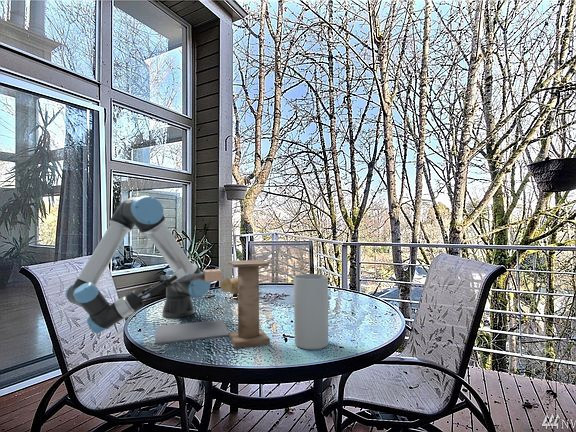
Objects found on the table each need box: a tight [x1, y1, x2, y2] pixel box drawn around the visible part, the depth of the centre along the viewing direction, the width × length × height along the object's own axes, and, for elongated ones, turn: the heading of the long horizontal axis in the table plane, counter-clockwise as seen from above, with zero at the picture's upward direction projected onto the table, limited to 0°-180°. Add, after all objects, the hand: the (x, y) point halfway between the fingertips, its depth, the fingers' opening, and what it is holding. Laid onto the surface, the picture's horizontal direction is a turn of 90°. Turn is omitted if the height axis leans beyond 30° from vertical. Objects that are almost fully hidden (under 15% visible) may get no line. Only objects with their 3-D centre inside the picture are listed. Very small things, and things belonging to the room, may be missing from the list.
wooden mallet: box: [159, 268, 223, 283], centre depth 141 cm, size 24×7×4 cm, turn 109°
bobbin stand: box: [228, 259, 271, 349], centre depth 129 cm, size 13×13×30 cm
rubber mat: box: [154, 319, 230, 345], centre depth 140 cm, size 22×28×1 cm
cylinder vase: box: [293, 273, 329, 351], centre depth 124 cm, size 12×12×25 cm
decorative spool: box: [220, 277, 238, 298], centre depth 207 cm, size 10×12×30 cm
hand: (183, 271), depth 140 cm, fingers closed on wooden mallet, 3 cm apart
